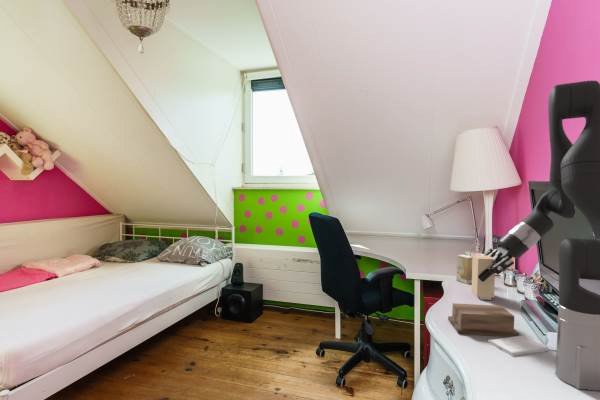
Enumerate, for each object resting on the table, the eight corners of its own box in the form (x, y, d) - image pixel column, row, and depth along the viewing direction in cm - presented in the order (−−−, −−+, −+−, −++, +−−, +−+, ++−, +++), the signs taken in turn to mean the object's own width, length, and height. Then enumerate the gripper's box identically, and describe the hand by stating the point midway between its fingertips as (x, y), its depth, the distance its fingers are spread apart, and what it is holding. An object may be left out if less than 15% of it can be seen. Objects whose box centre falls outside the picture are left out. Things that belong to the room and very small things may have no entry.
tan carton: (494, 297, 110) (495, 259, 109) (477, 296, 111) (478, 258, 110) (487, 292, 115) (489, 255, 114) (471, 291, 115) (472, 255, 115)
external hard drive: (548, 352, 98) (511, 358, 95) (522, 340, 106) (488, 344, 103) (548, 347, 98) (511, 352, 95) (522, 334, 106) (488, 338, 103)
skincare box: (455, 280, 168) (456, 254, 167) (462, 279, 170) (463, 254, 169) (467, 284, 162) (468, 257, 161) (474, 283, 164) (474, 256, 163)
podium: (518, 337, 106) (519, 317, 106) (458, 333, 109) (458, 314, 108) (502, 322, 117) (503, 304, 117) (448, 319, 120) (448, 302, 119)
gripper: (500, 228, 118) (460, 263, 120) (521, 235, 103) (476, 274, 106) (516, 244, 117) (477, 279, 119) (540, 253, 103) (494, 292, 105)
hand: (476, 276), depth 113 cm, fingers closed on tan carton, 5 cm apart
